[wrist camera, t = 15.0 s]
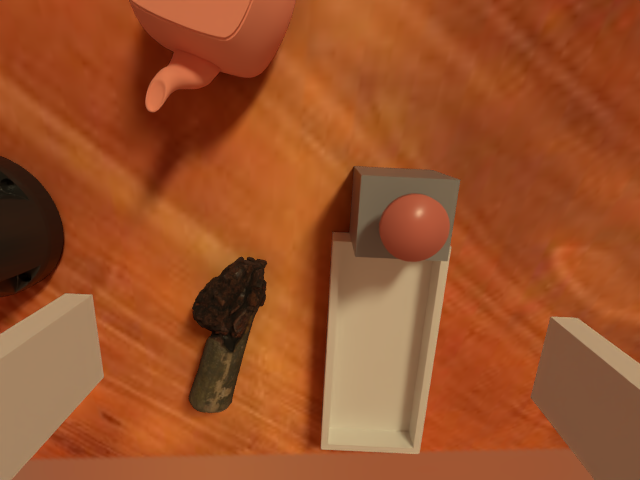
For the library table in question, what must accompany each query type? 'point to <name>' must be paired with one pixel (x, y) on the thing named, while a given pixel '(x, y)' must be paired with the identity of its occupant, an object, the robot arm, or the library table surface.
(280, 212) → the library table surface
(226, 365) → the metal pipe
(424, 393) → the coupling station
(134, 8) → the teapot
